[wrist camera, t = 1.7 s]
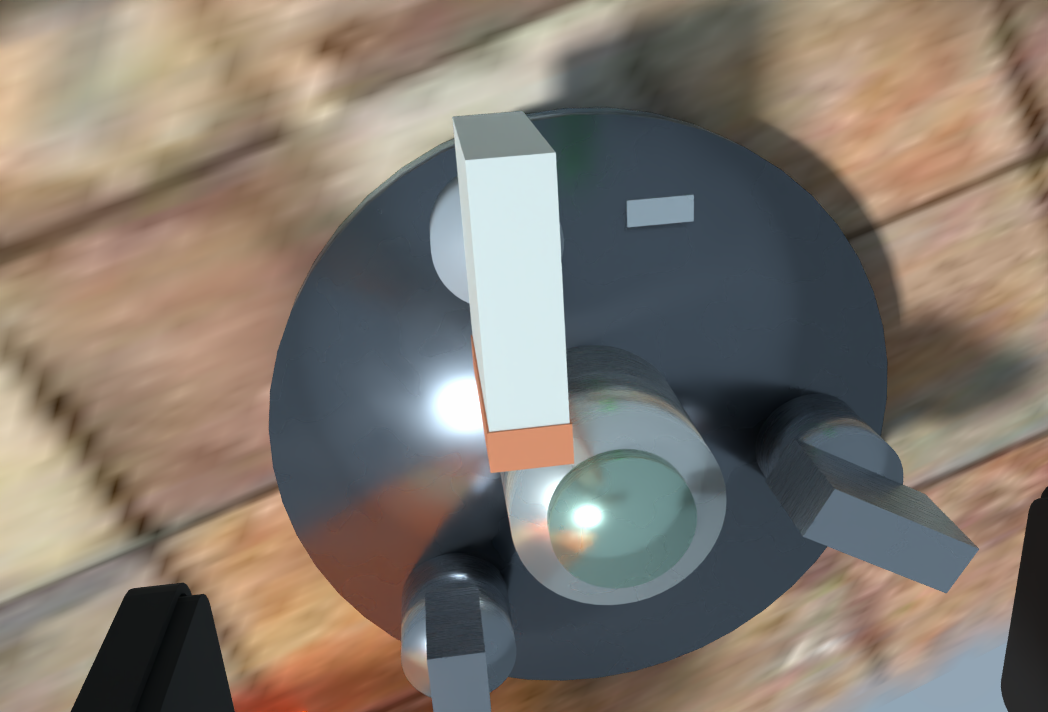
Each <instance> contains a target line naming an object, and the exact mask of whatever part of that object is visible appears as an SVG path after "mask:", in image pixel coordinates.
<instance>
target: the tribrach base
mask: <svg viewBox="0 0 1048 712" xmlns="http://www.w3.org/2000/svg"><path fill="white" fill-rule="evenodd" d="M525 115H526V116H527V117H528V118H529V120H530V121H531V122H532V123H533V125H534V126H535V127H536V128H537V130H538V131H539V132H540V133H541V135H542V136H543V137H544V138H545V140H546V141H547V142H548V143H549V145H550V146H551V147H552V148H553V150H554V151H555V152H556V166H557V185H558V205H559V220H560V223H561V227H562V230H563V238H564V249H563V256H562V260H561V263H562V283H563V302H564V322H565V341H566V361H567V380H568V400H569V416H570V419H571V422H572V428H573V448H574V464H568V465H559V466H550V467H541V468H532V469H523V470H514V471H505V472H497V473H491V472H490V466H489V460H488V454H487V448H486V441H485V435H484V429H483V423H482V417H481V411H480V404H479V398H478V392H477V386H476V380H475V373H474V367H473V356H472V345H471V335H472V325H471V314H470V304H469V303H467V302H465V301H463V300H461V299H460V298H458V297H457V296H455V295H454V294H453V293H452V292H451V291H450V290H449V289H448V288H447V287H446V286H445V285H444V284H443V282H442V281H441V279H440V277H439V276H438V274H437V272H436V269H435V267H434V264H433V260H432V255H431V245H430V230H429V223H430V215H431V211H432V208H433V205H434V203H435V200H436V199H437V197H438V195H439V193H440V192H441V191H442V189H443V188H444V187H445V186H446V185H447V184H448V183H449V182H450V181H451V180H452V179H453V178H455V177H456V176H458V172H457V161H456V151H455V140H454V139H451V140H449V141H447V142H445V143H442V144H440V145H438V146H437V147H435V148H433V149H432V150H430V151H428V152H427V153H425V154H424V155H422V156H420V157H419V158H417V159H415V160H414V161H412V162H410V163H409V164H407V165H406V166H404V167H402V168H401V169H400V170H398V171H397V172H396V173H395V174H394V175H392V176H391V177H390V178H389V179H387V180H386V181H385V182H384V183H382V184H381V185H380V186H379V187H378V188H376V189H375V190H374V191H373V192H371V193H370V194H369V195H368V196H367V197H366V198H365V199H364V200H363V201H362V202H361V203H360V204H359V205H358V206H357V208H356V209H355V210H354V211H353V212H352V213H351V214H350V215H349V216H348V217H347V218H346V219H345V220H344V221H343V223H342V224H341V225H340V226H339V227H338V228H337V230H336V231H335V233H334V234H333V235H332V237H331V238H330V240H329V241H328V243H327V244H326V245H325V247H324V248H323V250H322V251H321V252H320V254H319V255H318V257H317V258H316V260H315V261H314V263H313V265H312V267H311V269H310V271H309V273H308V275H307V277H306V279H305V281H304V283H303V285H302V287H301V288H300V290H299V292H298V294H297V296H296V299H295V302H294V305H293V308H292V311H291V314H290V317H289V319H288V322H287V325H286V328H285V331H284V334H283V337H282V340H281V343H280V346H279V349H278V352H277V357H276V362H275V368H274V373H273V378H272V384H271V389H270V410H269V435H270V444H271V453H272V462H273V468H274V472H275V476H276V479H277V483H278V487H279V491H280V494H281V498H282V502H283V504H284V507H285V509H286V511H287V513H288V516H289V518H290V520H291V523H292V525H293V527H294V530H295V532H296V534H297V536H298V538H299V539H300V541H301V543H302V544H303V546H304V548H305V549H306V551H307V552H308V554H309V556H310V557H311V559H312V560H313V562H314V564H315V565H316V567H317V568H318V569H319V570H320V571H321V573H322V574H323V575H324V576H325V577H326V579H327V580H328V581H329V582H330V583H331V585H332V586H333V587H334V588H335V589H336V591H337V592H338V593H339V594H340V595H341V596H342V597H343V598H344V599H346V600H347V601H348V602H349V603H350V604H351V605H352V606H353V607H354V608H355V609H356V610H358V611H359V612H360V613H361V614H362V615H363V616H364V617H366V618H367V619H368V620H370V621H371V622H373V623H374V624H376V625H377V626H378V627H380V628H381V629H383V630H384V631H386V632H387V633H388V634H390V635H391V636H393V637H394V638H396V639H398V640H400V641H401V664H402V669H403V671H404V674H405V676H406V678H407V679H408V681H409V682H410V683H411V684H412V685H413V686H414V687H415V688H416V689H417V690H418V691H420V692H421V693H423V694H425V695H427V696H429V697H432V704H433V712H491V704H490V694H489V693H490V692H492V691H493V690H495V689H496V688H497V687H499V686H500V685H501V684H502V683H503V682H504V681H505V680H506V678H507V677H513V678H520V679H528V680H575V679H588V678H599V677H605V676H610V675H616V674H621V673H627V672H632V671H636V670H640V669H643V668H646V667H650V666H653V665H657V664H660V663H663V662H667V661H670V660H672V659H675V658H677V657H680V656H682V655H684V654H687V653H689V652H692V651H694V650H697V649H699V648H702V647H704V646H705V645H707V644H709V643H711V642H713V641H715V640H717V639H719V638H720V637H722V636H724V635H726V634H728V633H730V632H732V631H734V630H735V629H737V628H738V627H740V626H741V625H743V624H744V623H745V622H747V621H748V620H750V619H751V618H753V617H754V616H756V615H757V614H759V613H760V612H762V611H763V610H765V609H766V608H767V607H768V606H769V605H770V604H772V603H773V602H774V601H775V600H776V599H778V598H779V597H780V596H781V595H782V594H784V593H785V592H786V591H787V590H788V589H790V588H791V587H792V586H793V585H794V584H795V583H796V582H797V581H798V579H799V578H800V577H801V576H802V575H803V574H804V573H805V572H806V571H807V570H808V569H809V568H810V567H811V566H812V565H813V564H814V563H815V562H816V561H817V559H818V558H819V557H820V555H821V554H822V553H823V551H824V550H825V549H826V547H827V546H828V547H831V548H833V549H836V550H838V551H841V552H843V553H846V554H848V555H851V556H853V557H856V558H858V559H861V560H863V561H866V562H868V563H871V564H873V565H876V566H879V567H881V568H884V569H886V570H889V571H891V572H894V573H896V574H899V575H901V576H904V577H906V578H909V579H911V580H914V581H916V582H919V583H921V584H924V585H926V586H929V587H932V588H934V589H937V590H939V591H942V592H944V593H947V592H948V591H949V589H950V588H951V587H952V585H953V584H954V583H955V581H956V580H957V579H958V577H959V576H960V574H961V573H962V572H963V570H964V569H965V568H966V566H967V565H968V564H969V562H970V561H971V559H972V558H973V557H974V555H975V554H976V553H977V551H978V550H979V548H978V547H977V546H976V545H975V544H974V543H973V542H972V541H971V540H970V539H969V538H968V537H967V536H966V535H965V534H964V533H963V532H962V531H961V530H960V529H959V528H958V527H957V526H956V525H955V524H954V523H953V522H952V521H951V520H950V519H949V518H948V517H947V516H946V515H945V514H944V513H943V512H942V511H941V510H940V509H939V508H938V507H937V506H936V505H935V504H934V503H933V502H932V500H931V499H930V498H929V497H928V496H927V495H926V494H924V493H921V492H919V491H917V490H914V489H912V488H910V487H907V486H905V485H903V468H902V464H901V461H900V459H899V457H898V455H897V454H896V452H895V451H894V450H893V449H892V448H891V447H890V446H889V445H888V444H887V443H886V442H885V441H884V440H883V439H882V438H881V437H880V436H881V431H882V425H883V418H884V412H885V406H886V400H887V356H886V347H885V339H884V331H883V325H882V321H881V318H880V314H879V310H878V307H877V303H876V299H875V296H874V292H873V290H872V287H871V285H870V283H869V280H868V278H867V276H866V274H865V271H864V269H863V267H862V265H861V262H860V260H859V258H858V256H857V255H856V253H855V251H854V250H853V248H852V247H851V245H850V244H849V242H848V240H847V239H846V237H845V236H844V234H843V233H842V231H841V229H840V228H839V226H838V225H837V224H836V223H835V221H834V220H833V219H832V218H831V217H830V216H829V215H828V213H827V212H826V211H825V210H824V209H823V208H822V207H821V205H820V204H819V203H818V202H817V201H816V200H815V199H814V197H813V196H812V195H811V194H809V193H808V192H807V191H806V190H805V189H803V188H802V187H801V186H800V185H799V184H798V183H796V182H795V181H794V180H793V179H792V178H790V177H789V176H788V175H787V174H786V173H784V172H783V171H782V170H781V169H779V168H778V167H776V166H774V165H773V164H771V163H769V162H768V161H766V160H764V159H763V158H761V157H760V156H758V155H756V154H755V153H753V152H751V151H750V150H748V149H747V148H745V147H743V146H741V145H739V144H737V143H735V142H733V141H732V140H730V139H727V138H725V137H723V136H720V135H718V134H716V133H713V132H711V131H709V130H706V129H704V128H702V127H699V126H697V125H695V124H692V123H689V122H685V121H681V120H677V119H674V118H670V117H666V116H663V115H659V114H655V113H651V112H643V111H635V110H626V109H618V108H610V107H604V108H563V109H556V110H550V111H543V112H536V113H530V114H525Z"/></svg>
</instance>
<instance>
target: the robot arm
mask: <svg viewBox="0 0 1048 712" xmlns="http://www.w3.org/2000/svg"><path fill="white" fill-rule="evenodd" d="M1001 691H1002V697H1003V700H1004V703H1005V706H1006V708H1007V710H1008V712H1048V487H1046V489H1045V490H1044V491H1043V493H1042V495H1041V498H1039V499H1037V500H1034V501H1033V503H1032V504H1031V506H1030V509H1029V513H1028V519H1027V525H1026V531H1025V538H1024V544H1023V550H1022V556H1021V562H1020V568H1019V574H1018V581H1017V587H1016V593H1015V599H1014V605H1013V611H1012V617H1011V623H1010V630H1009V636H1008V642H1007V648H1006V654H1005V660H1004V666H1003V673H1002V679H1001ZM71 712H235V711H234V706H233V702H232V698H231V693H230V689H229V685H228V680H227V676H226V672H225V667H224V663H223V659H222V654H221V650H220V645H219V641H218V637H217V632H216V628H215V624H214V619H213V615H212V611H211V606H210V603H209V600H208V598H207V596H206V595H204V594H199V595H192V594H191V591H190V589H189V587H188V586H187V585H186V584H185V583H176V584H167V585H158V586H149V587H141V588H133V589H130V590H128V592H127V593H126V595H125V596H124V599H123V601H122V603H121V605H120V607H119V609H118V611H117V614H116V616H115V618H114V620H113V622H112V624H111V626H110V629H109V631H108V633H107V635H106V637H105V639H104V641H103V644H102V646H101V648H100V650H99V652H98V654H97V656H96V659H95V661H94V663H93V665H92V667H91V669H90V671H89V674H88V676H87V678H86V680H85V682H84V684H83V686H82V689H81V691H80V693H79V695H78V697H77V699H76V701H75V704H74V706H73V708H72V710H71Z"/></svg>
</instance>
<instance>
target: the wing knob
mask: <svg viewBox="0 0 1048 712" xmlns="http://www.w3.org/2000/svg"><path fill="white" fill-rule="evenodd" d="M452 118H453V129H454V140H455V151H456V161H457V172H458V176H456V177H455V178H453V179H452V180H451V181H450V182H449V183H448V184H447V185H446V186H445V187H444V188H443V189H442V191H441V192H440V193H439V195H438V197H437V199H436V200H435V203H434V205H433V208H432V211H431V215H430V223H429V230H430V245H431V255H432V260H433V264H434V267H435V269H436V272H437V274H438V276H439V277H440V279H441V281H442V282H443V284H444V285H445V286H446V287H447V288H448V289H449V290H450V291H451V292H452V293H453V294H454V295H455V296H457V297H458V298H460V299H461V300H463V301H465V302H467V303H469V304H470V314H471V325H472V335H471V345H472V356H473V367H474V373H475V380H476V386H477V392H478V398H479V404H480V411H481V417H482V423H483V429H484V435H485V441H486V448H487V454H488V460H489V466H490V472H491V473H497V472H505V471H514V470H523V469H532V468H541V467H550V466H559V465H568V464H574V448H573V428H572V422H571V419H570V416H569V400H568V380H567V361H566V341H565V322H564V302H563V283H562V263H561V260H562V256H563V249H564V238H563V230H562V227H561V223H560V220H559V205H558V185H557V166H556V152H555V151H554V150H553V148H552V147H551V146H550V145H549V143H548V142H547V141H546V140H545V138H544V137H543V136H542V135H541V133H540V132H539V131H538V130H537V128H536V127H535V126H534V125H533V123H532V122H531V121H530V120H529V118H528V117H527V116H526V115H525V113H524V112H523V111H515V112H503V113H491V114H478V115H466V116H454V117H452Z"/></svg>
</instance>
